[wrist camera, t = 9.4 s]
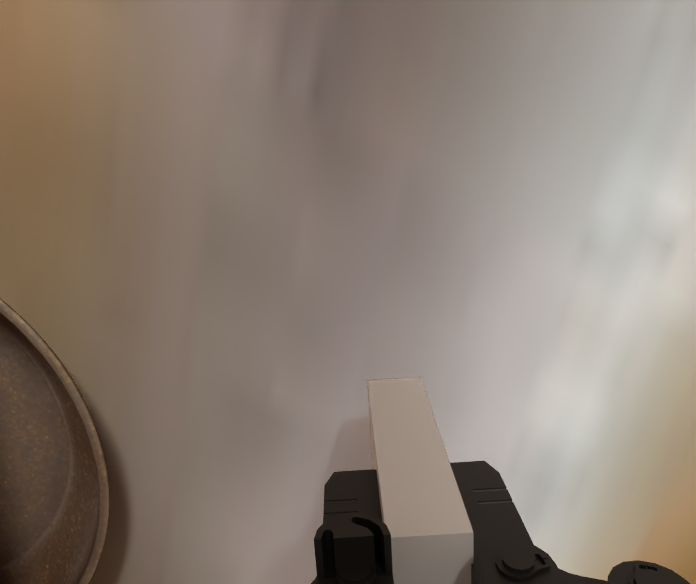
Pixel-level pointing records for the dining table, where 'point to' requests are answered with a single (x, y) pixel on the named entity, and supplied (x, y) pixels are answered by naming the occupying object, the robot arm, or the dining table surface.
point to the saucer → (46, 466)
